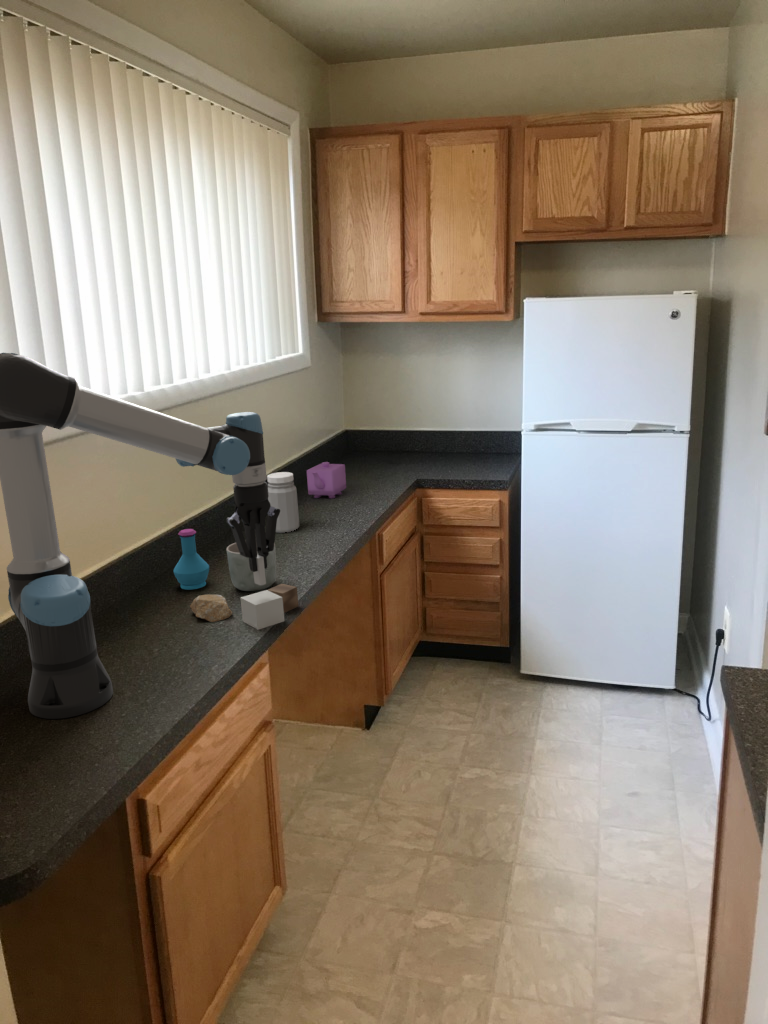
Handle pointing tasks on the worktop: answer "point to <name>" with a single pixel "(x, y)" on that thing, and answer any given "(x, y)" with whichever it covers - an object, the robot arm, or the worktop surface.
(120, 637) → the worktop surface
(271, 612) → the block
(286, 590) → the walnut block
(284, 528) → the jar
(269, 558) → the planter
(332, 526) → the worktop surface
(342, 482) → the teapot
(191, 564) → the perfume bottle
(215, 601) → the stone
